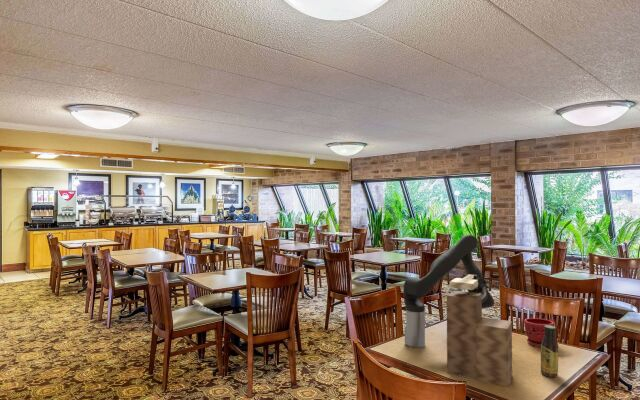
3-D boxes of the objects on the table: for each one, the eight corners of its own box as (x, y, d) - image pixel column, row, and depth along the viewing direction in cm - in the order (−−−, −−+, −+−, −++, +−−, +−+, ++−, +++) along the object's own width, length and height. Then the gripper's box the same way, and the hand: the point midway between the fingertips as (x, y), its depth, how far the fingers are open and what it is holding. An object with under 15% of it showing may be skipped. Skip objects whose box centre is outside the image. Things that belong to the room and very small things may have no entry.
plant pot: (554, 343, 196) (554, 319, 196) (554, 351, 185) (553, 326, 185) (525, 338, 203) (525, 315, 203) (523, 346, 192) (523, 321, 192)
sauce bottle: (537, 371, 162) (536, 324, 162) (551, 371, 162) (550, 323, 163) (547, 378, 155) (547, 328, 155) (562, 378, 156) (561, 328, 156)
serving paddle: (449, 287, 161) (449, 281, 161) (462, 279, 179) (462, 273, 179) (472, 290, 156) (472, 283, 156) (483, 281, 174) (483, 275, 174)
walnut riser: (447, 372, 161) (446, 295, 161) (454, 363, 171) (454, 290, 171) (508, 386, 148) (507, 302, 149) (512, 375, 158) (511, 296, 159)
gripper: (462, 280, 189) (454, 267, 177) (493, 284, 182) (487, 269, 169) (460, 295, 186) (452, 282, 174) (492, 299, 178) (485, 286, 166)
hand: (469, 276), depth 172 cm, fingers closed on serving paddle, 3 cm apart
